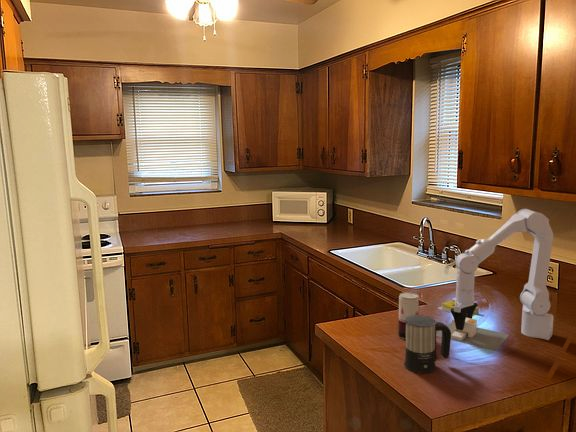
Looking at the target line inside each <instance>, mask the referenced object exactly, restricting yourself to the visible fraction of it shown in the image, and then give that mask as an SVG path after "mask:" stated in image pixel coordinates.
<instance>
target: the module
mask: <svg viewBox="0 0 576 432" xmlns="http://www.w3.org/2000/svg"><path fill="white" fill-rule="evenodd" d="M451 322H452V331H451V333H454V332H455V331H456V330H457V329H456V325H455V321H454V318H452V319H451ZM477 323H478V321H477V319H474V318H472V319H471V318H466V319H465V324H464V329H463V330H459V331H463V332H468V337H471V338H472V337H473V336H474V335H475V334H476V327H477Z"/></svg>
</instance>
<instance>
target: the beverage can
mask: <svg viewBox="0 0 576 432" xmlns="http://www.w3.org/2000/svg"><path fill="white" fill-rule="evenodd" d="M419 299H420V298H419V295H418V294H417V293H415V292H407V291H405V292H401V293H399V296H398V330H397V331H398V332H397V333H398V337H399V338H401V339H402V340H406V323H405V318H406V317H408V316H412V315H419V306H420V305H419Z"/></svg>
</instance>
